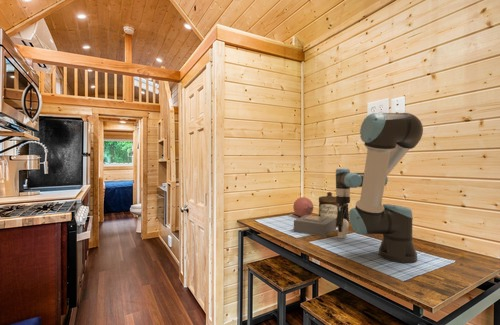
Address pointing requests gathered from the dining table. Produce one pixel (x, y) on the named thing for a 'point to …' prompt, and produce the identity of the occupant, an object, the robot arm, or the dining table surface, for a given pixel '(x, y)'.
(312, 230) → the socket block
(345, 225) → the lightbulb
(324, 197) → the wooden container
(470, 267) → the dining table surface
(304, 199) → the balloon
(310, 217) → the tan square tile
